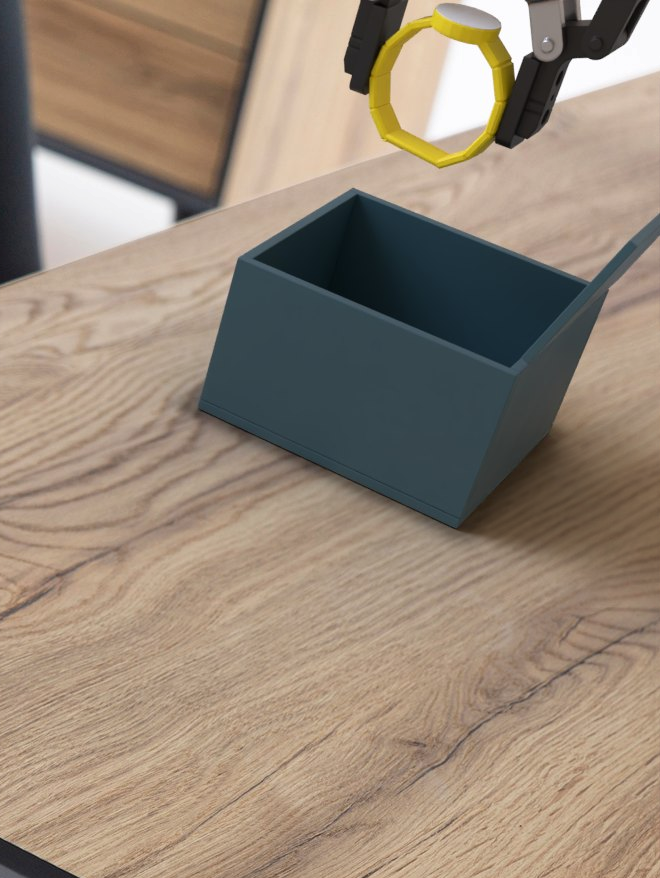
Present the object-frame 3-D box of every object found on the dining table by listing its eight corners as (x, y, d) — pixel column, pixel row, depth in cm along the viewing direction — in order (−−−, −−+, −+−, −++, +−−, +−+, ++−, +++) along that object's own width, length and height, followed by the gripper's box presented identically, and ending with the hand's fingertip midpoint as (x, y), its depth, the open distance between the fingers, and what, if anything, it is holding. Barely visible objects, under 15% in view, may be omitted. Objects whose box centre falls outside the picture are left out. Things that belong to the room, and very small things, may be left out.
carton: (549, 432, 83) (609, 289, 78) (456, 529, 74) (517, 376, 70) (309, 327, 87) (352, 187, 83) (196, 408, 79) (237, 257, 74)
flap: (612, 273, 78) (618, 279, 78) (520, 358, 69) (527, 364, 69) (714, 163, 73) (722, 169, 73) (629, 239, 65) (637, 247, 65)
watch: (343, 136, 74) (384, -6, 70) (374, 123, 76) (416, -16, 72) (467, 188, 71) (517, 44, 68) (496, 173, 73) (546, 32, 70)
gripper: (803, -292, 63) (623, 153, 73) (441, -385, 68) (322, 43, 78) (750, -278, 57) (565, 199, 68) (362, -380, 63) (246, 77, 73)
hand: (435, 113), depth 73 cm, fingers closed on watch, 6 cm apart
